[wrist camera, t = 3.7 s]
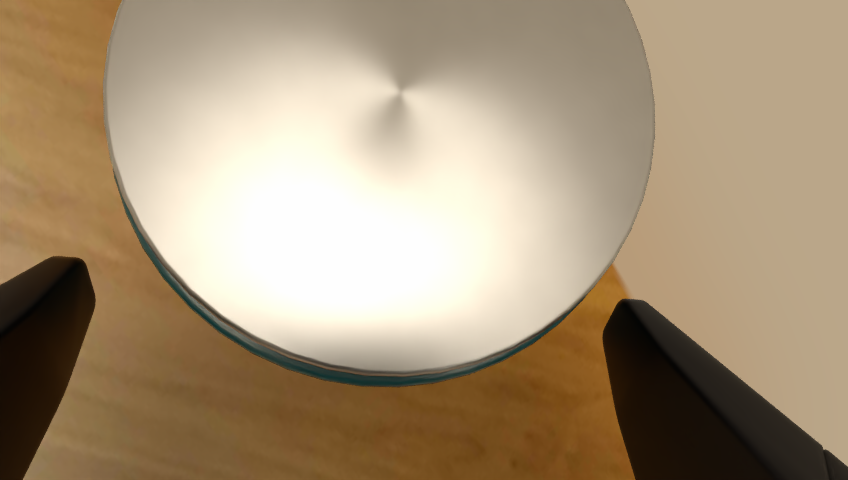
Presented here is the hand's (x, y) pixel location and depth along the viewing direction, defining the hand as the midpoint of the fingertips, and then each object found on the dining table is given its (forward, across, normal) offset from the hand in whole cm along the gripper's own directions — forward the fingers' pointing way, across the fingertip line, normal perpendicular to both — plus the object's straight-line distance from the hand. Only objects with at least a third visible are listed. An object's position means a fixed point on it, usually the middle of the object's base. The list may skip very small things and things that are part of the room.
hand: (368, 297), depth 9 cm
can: (+8, 0, +5) cm, 10 cm away
